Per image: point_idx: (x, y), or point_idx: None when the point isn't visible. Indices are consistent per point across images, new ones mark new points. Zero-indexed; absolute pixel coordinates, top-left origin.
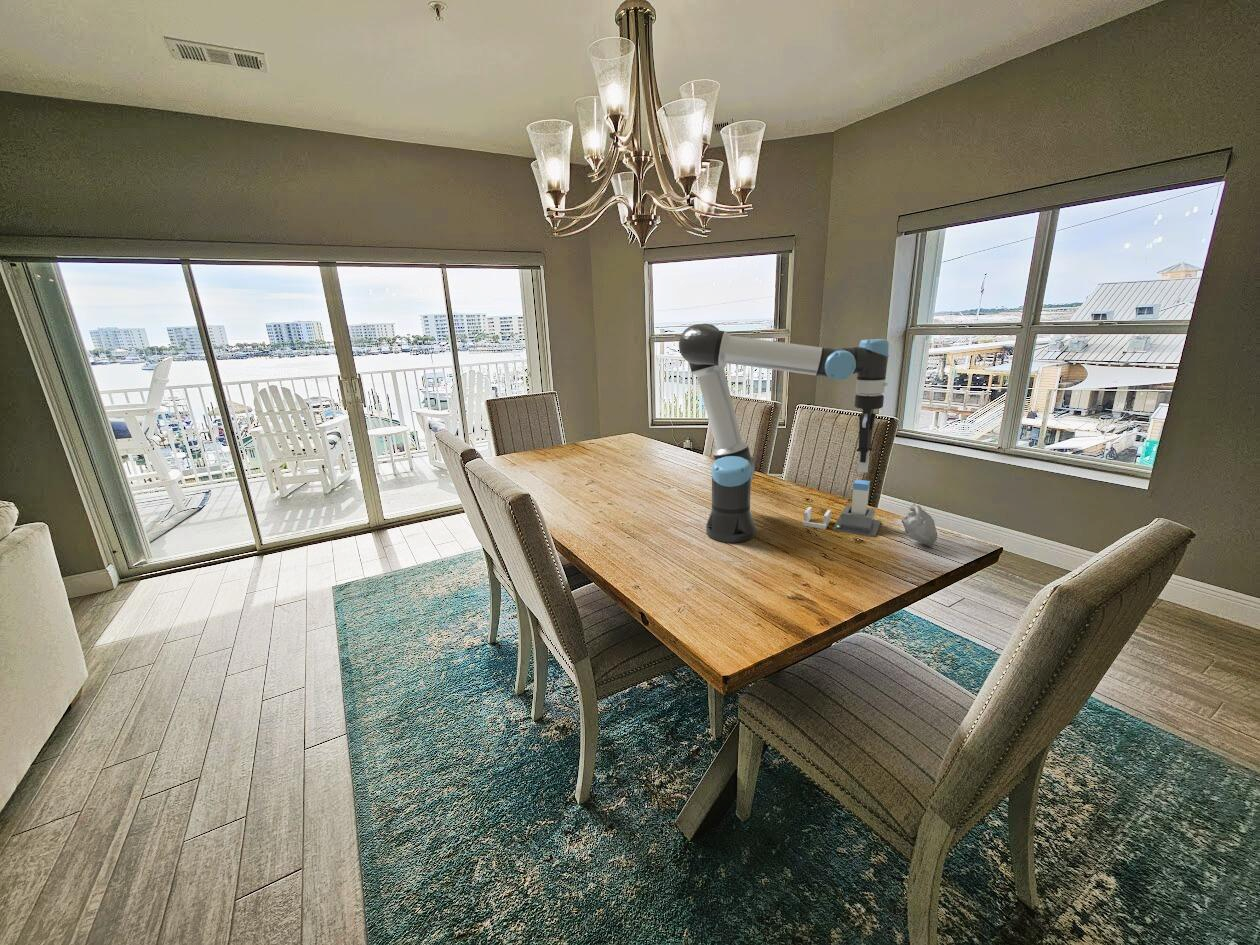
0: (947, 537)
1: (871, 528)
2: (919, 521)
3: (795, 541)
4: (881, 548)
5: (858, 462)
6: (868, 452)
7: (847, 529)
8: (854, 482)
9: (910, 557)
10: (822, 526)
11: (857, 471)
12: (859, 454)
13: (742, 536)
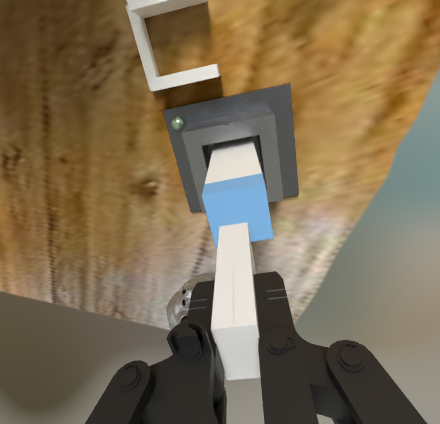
0: None
1: None
2: (171, 329)
3: (11, 56)
4: (143, 235)
5: (216, 264)
6: (226, 374)
7: (181, 148)
8: (212, 195)
9: (143, 280)
10: (148, 81)
11: (220, 228)
12: (214, 309)
13: None
